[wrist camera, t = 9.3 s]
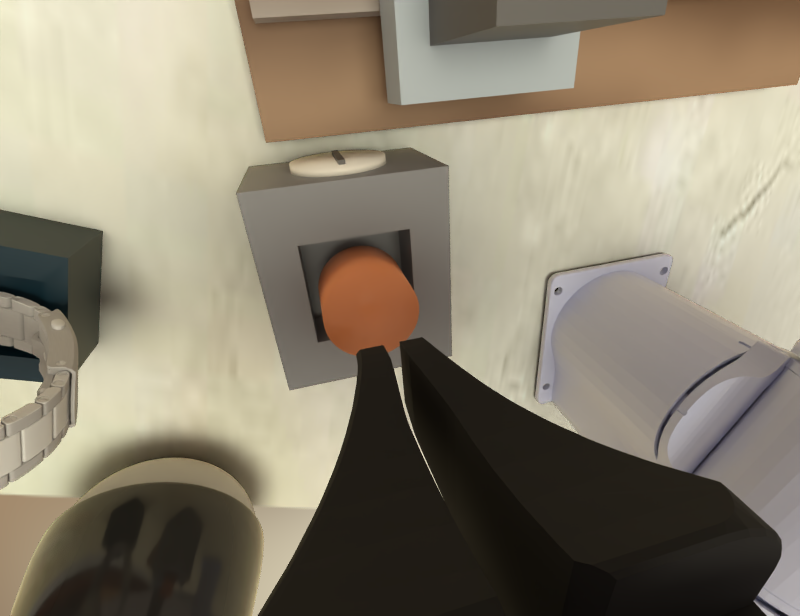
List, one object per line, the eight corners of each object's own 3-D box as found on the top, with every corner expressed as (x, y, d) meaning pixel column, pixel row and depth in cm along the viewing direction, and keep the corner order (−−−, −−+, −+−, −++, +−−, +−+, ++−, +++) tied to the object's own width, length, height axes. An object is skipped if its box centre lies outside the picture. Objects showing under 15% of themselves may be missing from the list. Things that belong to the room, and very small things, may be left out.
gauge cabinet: (419, 304, 22) (451, 355, 18) (288, 328, 21) (289, 390, 17) (409, 136, 18) (448, 151, 14) (246, 155, 17) (232, 178, 13)
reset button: (404, 314, 17) (421, 346, 15) (325, 329, 16) (331, 365, 14) (398, 239, 15) (416, 263, 13) (310, 253, 14) (314, 280, 12)
